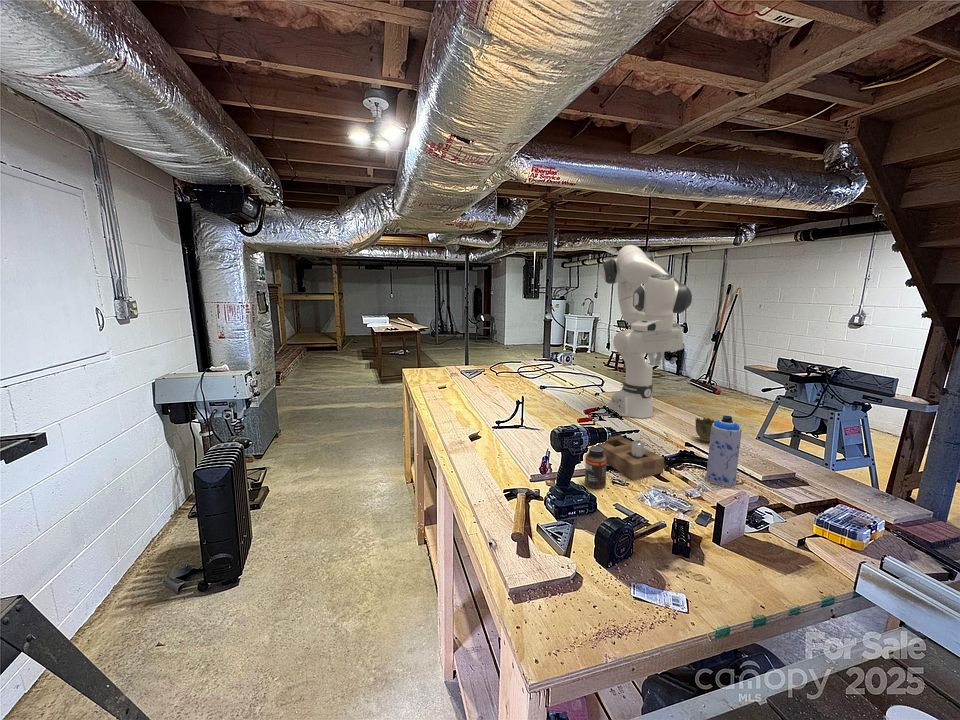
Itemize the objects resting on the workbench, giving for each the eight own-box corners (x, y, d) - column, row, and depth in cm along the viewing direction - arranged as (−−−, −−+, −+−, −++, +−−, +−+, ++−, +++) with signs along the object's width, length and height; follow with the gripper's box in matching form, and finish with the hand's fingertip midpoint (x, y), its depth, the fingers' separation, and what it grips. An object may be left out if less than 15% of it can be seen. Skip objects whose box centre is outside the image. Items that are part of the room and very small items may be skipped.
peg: (627, 468, 122) (629, 441, 121) (636, 466, 124) (638, 439, 122) (636, 472, 119) (637, 445, 117) (645, 470, 120) (646, 444, 119)
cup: (710, 437, 146) (712, 417, 144) (720, 445, 139) (722, 424, 137) (690, 436, 147) (692, 417, 145) (699, 444, 139) (701, 423, 138)
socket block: (591, 453, 133) (591, 440, 132) (618, 448, 137) (619, 435, 136) (632, 480, 115) (633, 464, 114) (663, 472, 119) (664, 457, 118)
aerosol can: (734, 477, 115) (742, 414, 112) (737, 489, 109) (745, 422, 105) (704, 471, 119) (711, 410, 115) (705, 483, 112) (712, 418, 108)
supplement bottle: (605, 481, 114) (607, 445, 112) (605, 491, 109) (607, 454, 107) (585, 478, 116) (586, 443, 114) (583, 487, 111) (585, 451, 109)
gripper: (673, 322, 133) (670, 361, 135) (626, 324, 126) (624, 366, 128) (689, 323, 127) (685, 364, 129) (641, 326, 120) (638, 369, 122)
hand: (655, 365), depth 129 cm, fingers closed
